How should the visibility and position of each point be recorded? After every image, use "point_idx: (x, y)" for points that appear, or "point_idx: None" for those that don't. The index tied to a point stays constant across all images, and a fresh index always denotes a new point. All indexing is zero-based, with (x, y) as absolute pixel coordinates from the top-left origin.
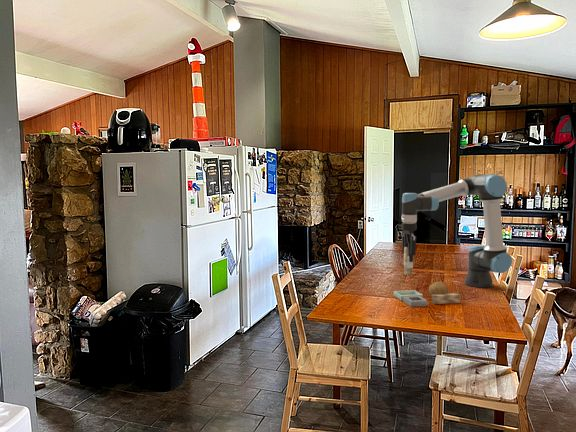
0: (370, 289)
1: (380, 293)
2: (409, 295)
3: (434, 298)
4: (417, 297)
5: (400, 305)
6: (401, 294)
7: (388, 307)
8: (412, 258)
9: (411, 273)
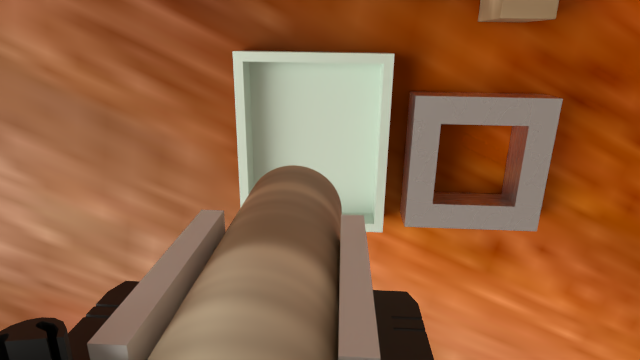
0: (77, 289)
1: None
2: (382, 167)
3: (546, 19)
4: (439, 127)
5: (472, 262)
6: (253, 162)
7: (486, 339)
8: (429, 350)
9: (331, 187)
